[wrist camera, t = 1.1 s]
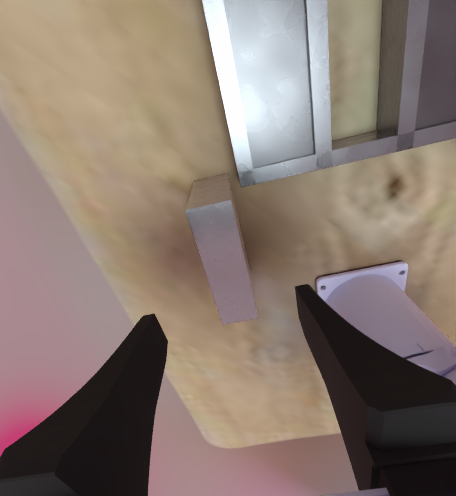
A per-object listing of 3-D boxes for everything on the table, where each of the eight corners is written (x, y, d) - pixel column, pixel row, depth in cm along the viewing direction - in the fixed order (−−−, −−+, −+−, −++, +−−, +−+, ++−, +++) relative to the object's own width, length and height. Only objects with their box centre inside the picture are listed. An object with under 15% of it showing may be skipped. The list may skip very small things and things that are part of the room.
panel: (250, 270, 24) (258, 318, 19) (222, 275, 24) (222, 324, 19) (228, 172, 20) (230, 200, 15) (194, 180, 20) (184, 210, 15)
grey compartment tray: (465, 124, 18) (503, 129, 16) (238, 177, 20) (241, 189, 17) (525, -185, 12) (606, -259, 10) (186, -75, 14) (178, -114, 11)
